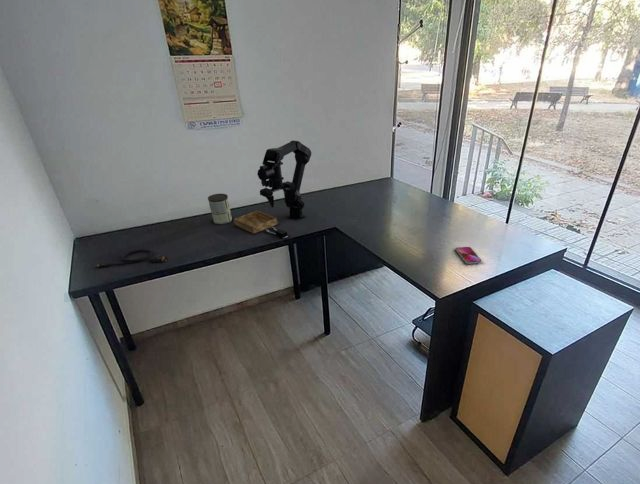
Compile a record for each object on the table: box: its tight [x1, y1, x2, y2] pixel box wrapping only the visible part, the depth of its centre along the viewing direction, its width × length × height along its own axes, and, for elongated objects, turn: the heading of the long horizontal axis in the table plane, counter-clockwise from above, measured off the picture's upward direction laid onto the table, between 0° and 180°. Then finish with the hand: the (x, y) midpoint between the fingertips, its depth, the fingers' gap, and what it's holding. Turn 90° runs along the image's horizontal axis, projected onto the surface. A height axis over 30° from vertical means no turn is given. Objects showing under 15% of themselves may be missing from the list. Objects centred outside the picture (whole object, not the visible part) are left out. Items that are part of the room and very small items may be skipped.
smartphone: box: [455, 246, 482, 265], centre depth 176 cm, size 7×1×15 cm
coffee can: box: [207, 193, 233, 225], centre depth 211 cm, size 10×10×14 cm
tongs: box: [264, 226, 289, 240], centre depth 198 cm, size 14×6×3 cm, turn 49°
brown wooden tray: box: [233, 210, 279, 234], centre depth 208 cm, size 16×17×4 cm
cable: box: [96, 248, 166, 268], centre depth 178 cm, size 14×28×2 cm, turn 100°
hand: (279, 204), depth 201 cm, fingers open, 9 cm apart
